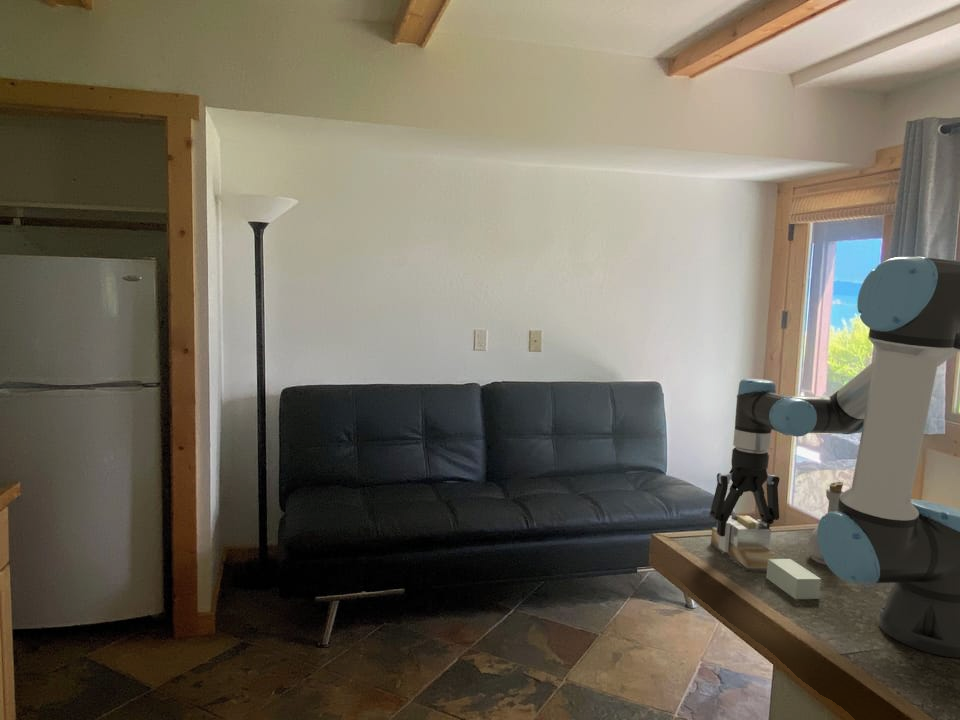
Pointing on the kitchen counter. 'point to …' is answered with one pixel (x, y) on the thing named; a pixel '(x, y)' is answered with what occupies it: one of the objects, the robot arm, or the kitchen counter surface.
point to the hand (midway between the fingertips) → (741, 549)
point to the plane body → (746, 555)
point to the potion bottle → (833, 499)
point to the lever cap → (748, 532)
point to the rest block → (793, 579)
